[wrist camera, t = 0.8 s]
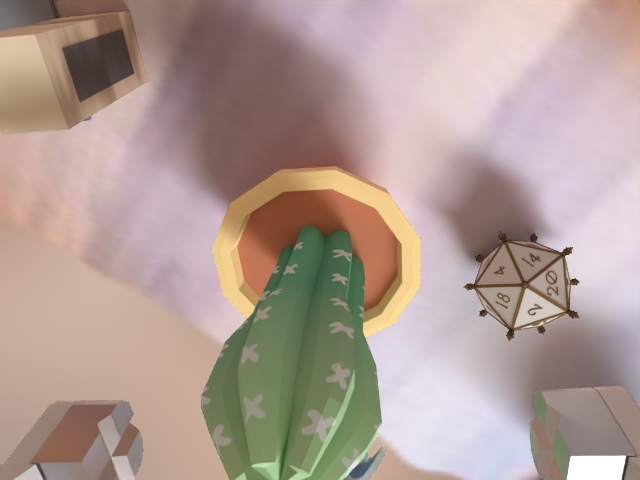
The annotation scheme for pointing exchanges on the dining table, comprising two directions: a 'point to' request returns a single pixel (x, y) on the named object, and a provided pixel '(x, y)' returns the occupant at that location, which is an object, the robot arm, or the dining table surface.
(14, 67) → the birch block
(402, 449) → the dining table surface
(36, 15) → the mat
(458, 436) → the dining table surface
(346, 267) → the potted cactus
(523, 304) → the game die
